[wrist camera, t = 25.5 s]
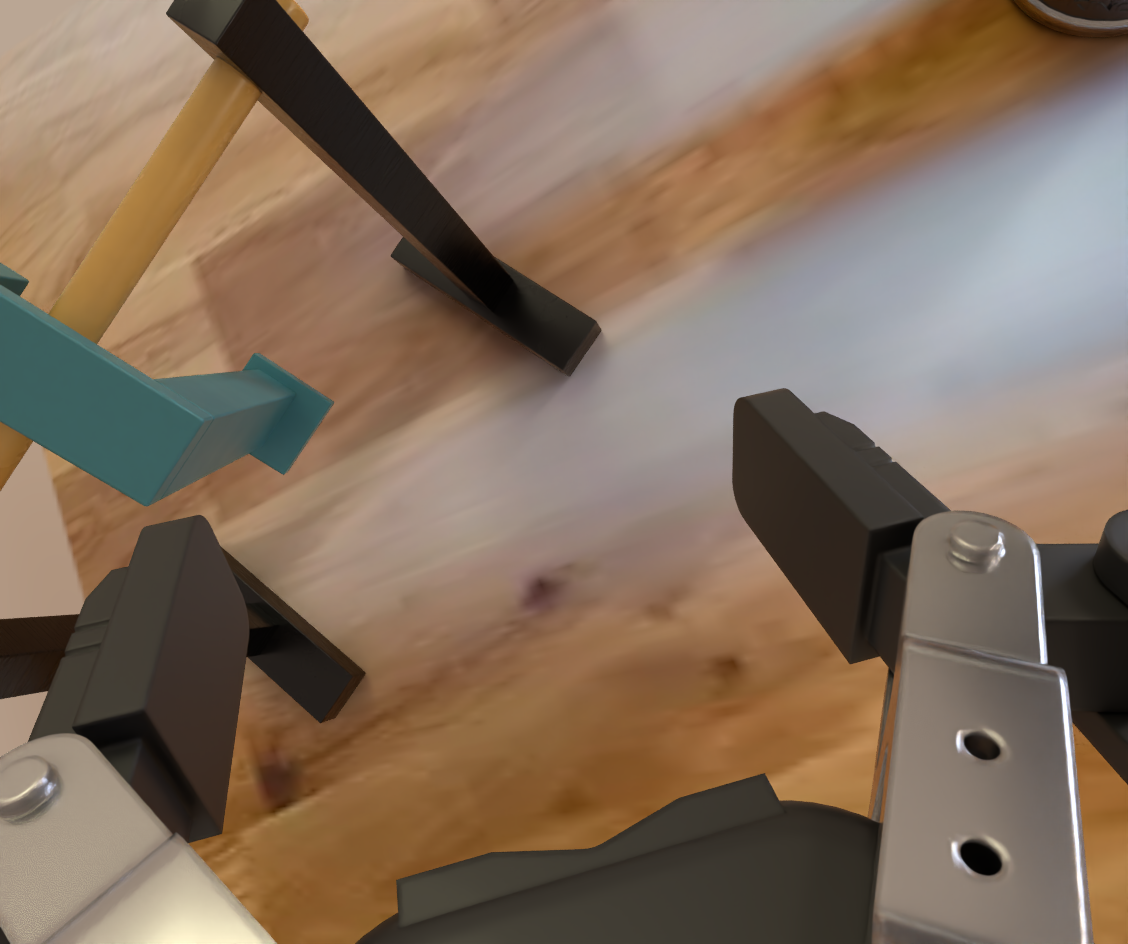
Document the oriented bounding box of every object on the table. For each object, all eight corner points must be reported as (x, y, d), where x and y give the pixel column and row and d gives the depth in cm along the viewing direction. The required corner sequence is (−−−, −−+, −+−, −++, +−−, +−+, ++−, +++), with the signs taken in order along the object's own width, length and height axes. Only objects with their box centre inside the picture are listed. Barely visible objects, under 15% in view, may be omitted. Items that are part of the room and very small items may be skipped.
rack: (602, 329, 41) (413, 42, 19) (335, 718, 42) (-148, 886, 19) (431, 221, 44) (96, -134, 22) (187, 584, 45) (-372, 598, 23)
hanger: (334, 402, 37) (262, 435, 22) (287, 472, 37) (185, 551, 22) (148, 281, 35) (-66, 230, 20) (100, 355, 35) (-149, 358, 20)
